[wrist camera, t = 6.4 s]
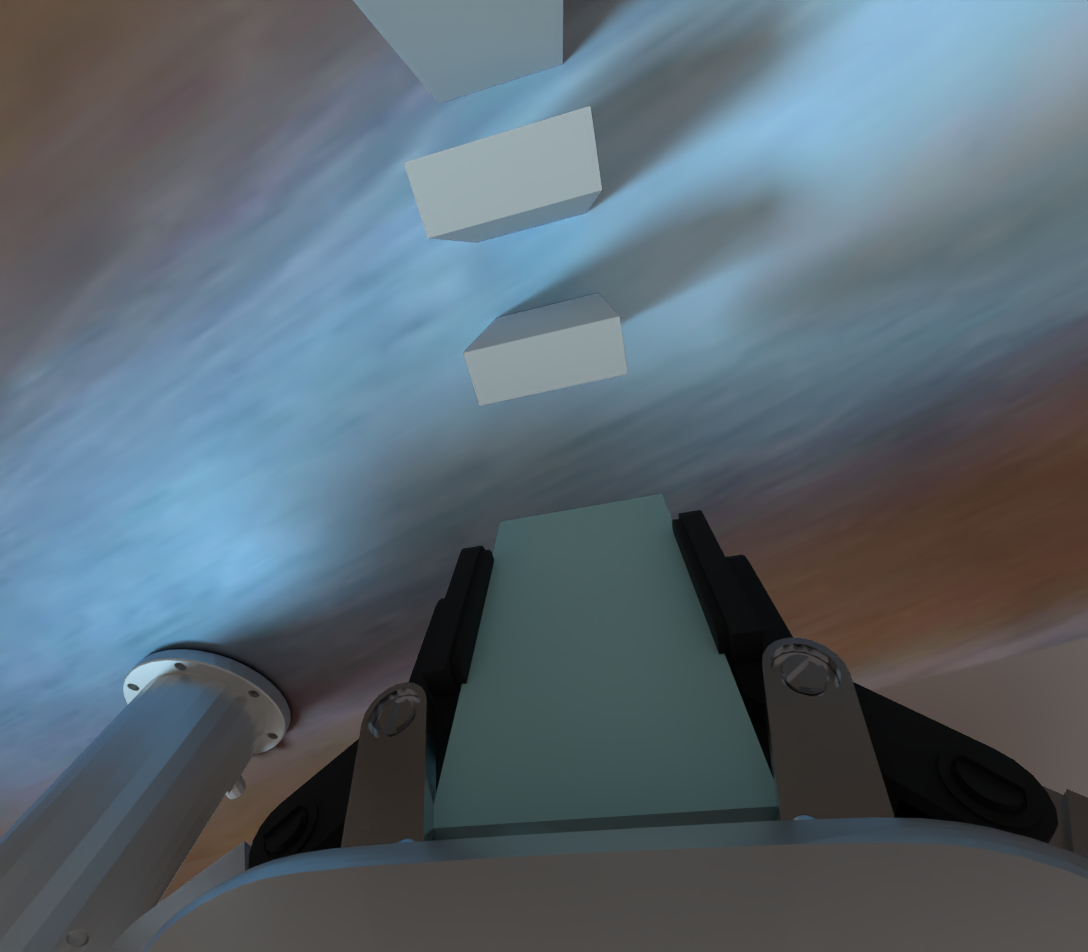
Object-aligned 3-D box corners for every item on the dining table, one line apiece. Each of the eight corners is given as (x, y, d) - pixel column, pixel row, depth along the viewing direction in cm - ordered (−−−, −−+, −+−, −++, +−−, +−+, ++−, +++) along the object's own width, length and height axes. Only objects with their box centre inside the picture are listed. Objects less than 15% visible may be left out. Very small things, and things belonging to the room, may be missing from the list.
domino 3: (605, 331, 21) (627, 373, 14) (506, 354, 21) (479, 406, 14) (599, 292, 20) (619, 315, 13) (496, 317, 21) (462, 352, 14)
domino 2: (586, 212, 18) (602, 190, 11) (476, 242, 19) (427, 238, 12) (578, 163, 18) (590, 105, 11) (464, 196, 18) (403, 162, 11)
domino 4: (667, 541, 13) (780, 866, 6) (515, 565, 14) (465, 880, 7) (661, 493, 13) (783, 805, 6) (499, 521, 13) (428, 827, 6)
